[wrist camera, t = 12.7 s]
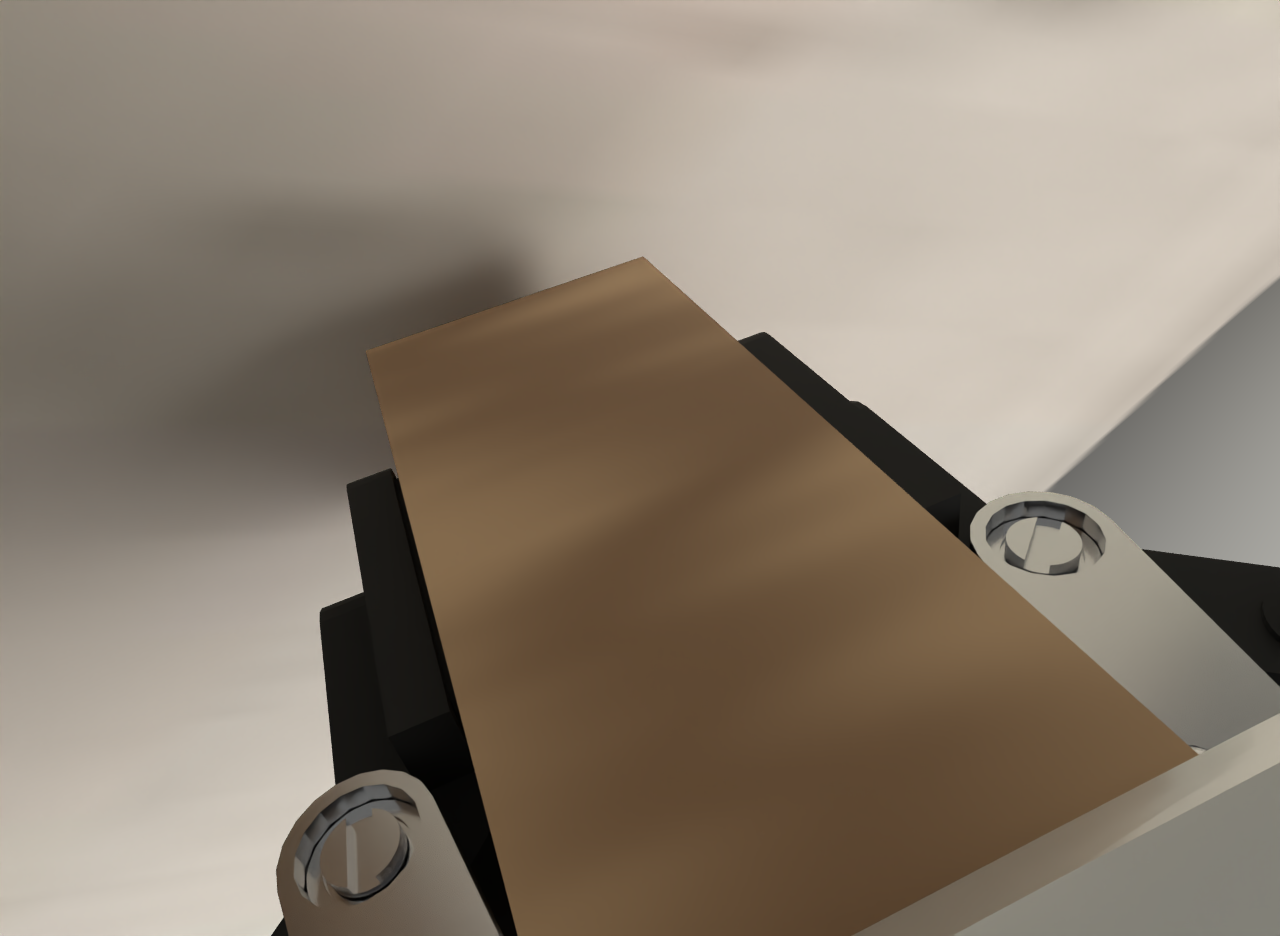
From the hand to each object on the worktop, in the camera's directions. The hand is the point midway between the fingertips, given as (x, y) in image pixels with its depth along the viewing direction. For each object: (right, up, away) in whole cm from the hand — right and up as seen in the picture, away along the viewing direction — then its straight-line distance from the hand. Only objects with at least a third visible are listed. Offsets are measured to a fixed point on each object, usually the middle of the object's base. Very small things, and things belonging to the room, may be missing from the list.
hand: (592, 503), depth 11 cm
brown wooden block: (-1, +1, +2) cm, 2 cm away
